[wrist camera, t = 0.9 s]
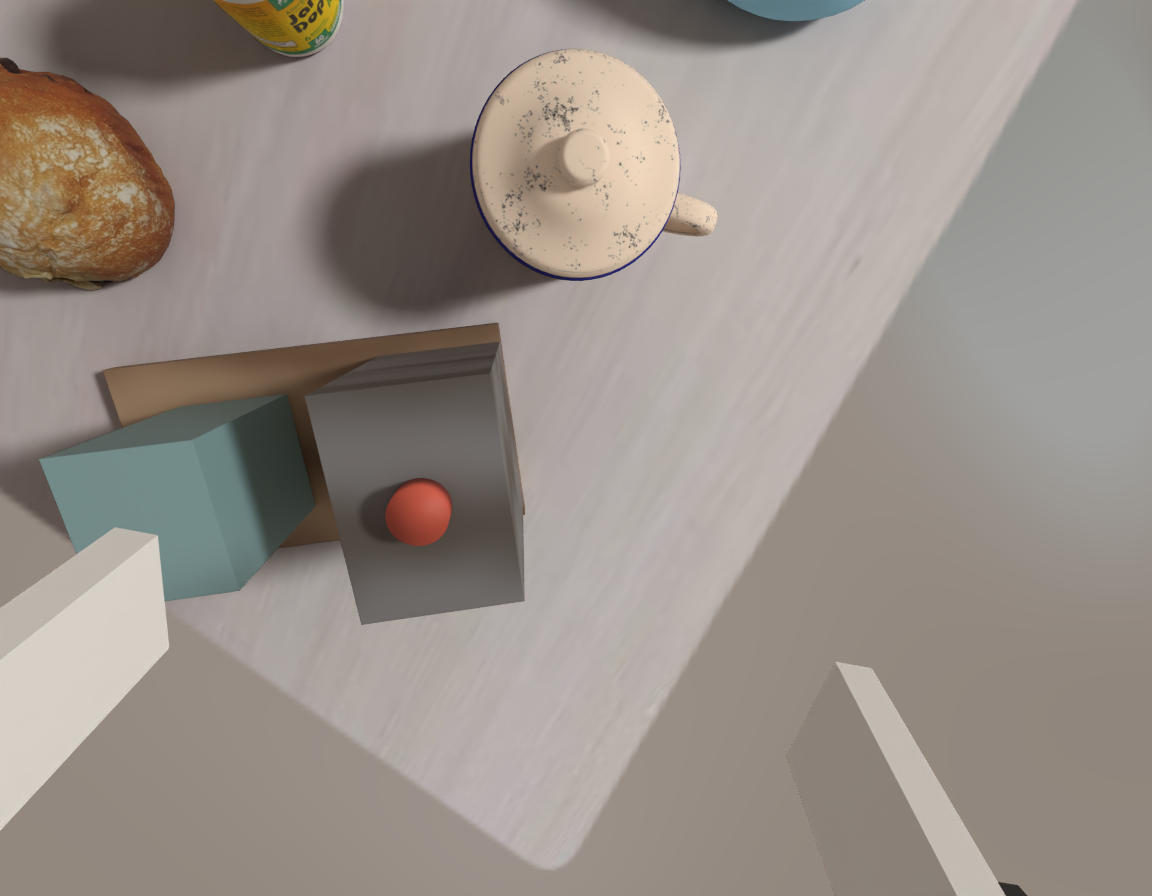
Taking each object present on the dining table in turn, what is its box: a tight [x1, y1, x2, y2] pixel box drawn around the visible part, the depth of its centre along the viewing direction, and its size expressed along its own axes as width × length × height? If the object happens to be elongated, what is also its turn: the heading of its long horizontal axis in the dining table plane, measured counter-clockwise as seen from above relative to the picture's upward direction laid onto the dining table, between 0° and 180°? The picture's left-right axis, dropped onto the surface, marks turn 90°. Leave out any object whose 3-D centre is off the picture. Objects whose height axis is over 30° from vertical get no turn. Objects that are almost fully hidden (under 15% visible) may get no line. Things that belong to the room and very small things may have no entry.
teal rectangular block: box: [39, 394, 316, 601], centre depth 29 cm, size 7×6×10 cm
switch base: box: [103, 323, 525, 625], centre depth 29 cm, size 12×22×14 cm, turn 96°
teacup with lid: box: [470, 49, 717, 281], centre depth 28 cm, size 12×9×12 cm
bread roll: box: [0, 58, 175, 290], centre depth 29 cm, size 10×10×8 cm
